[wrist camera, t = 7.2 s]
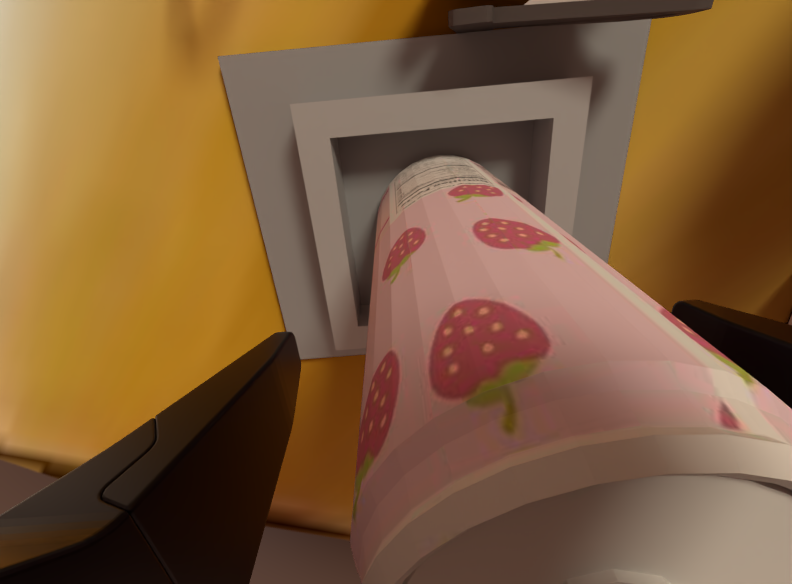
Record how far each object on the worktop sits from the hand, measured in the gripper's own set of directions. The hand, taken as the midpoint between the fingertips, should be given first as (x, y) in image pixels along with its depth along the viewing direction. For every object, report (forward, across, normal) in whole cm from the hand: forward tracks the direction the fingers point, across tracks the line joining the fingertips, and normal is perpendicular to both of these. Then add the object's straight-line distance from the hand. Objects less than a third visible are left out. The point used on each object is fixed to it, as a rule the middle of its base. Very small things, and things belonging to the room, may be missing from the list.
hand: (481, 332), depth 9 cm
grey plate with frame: (+10, 0, 0) cm, 10 cm away
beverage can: (+9, 0, 0) cm, 9 cm away
